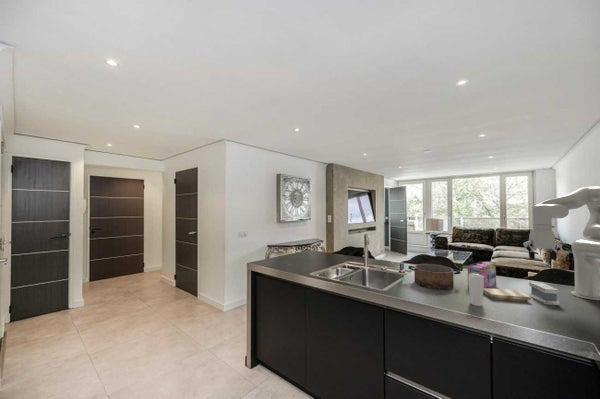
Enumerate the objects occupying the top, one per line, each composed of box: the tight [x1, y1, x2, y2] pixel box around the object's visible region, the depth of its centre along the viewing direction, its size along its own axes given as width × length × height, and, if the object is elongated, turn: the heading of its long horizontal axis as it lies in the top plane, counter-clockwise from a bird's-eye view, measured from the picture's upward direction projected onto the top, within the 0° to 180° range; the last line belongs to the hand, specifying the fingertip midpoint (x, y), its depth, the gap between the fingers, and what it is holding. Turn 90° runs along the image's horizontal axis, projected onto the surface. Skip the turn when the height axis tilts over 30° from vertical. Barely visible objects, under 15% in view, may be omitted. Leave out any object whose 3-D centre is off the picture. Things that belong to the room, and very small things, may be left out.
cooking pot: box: [407, 263, 461, 291], centre depth 165 cm, size 30×22×11 cm
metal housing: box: [528, 281, 560, 306], centre depth 137 cm, size 6×12×8 cm, turn 168°
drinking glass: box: [467, 273, 484, 307], centre depth 132 cm, size 7×7×15 cm
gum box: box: [467, 260, 497, 288], centre depth 164 cm, size 24×8×14 cm, turn 124°
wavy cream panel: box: [483, 287, 532, 303], centre depth 141 cm, size 18×11×3 cm, turn 77°
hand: (542, 259), depth 138 cm, fingers open, 9 cm apart
